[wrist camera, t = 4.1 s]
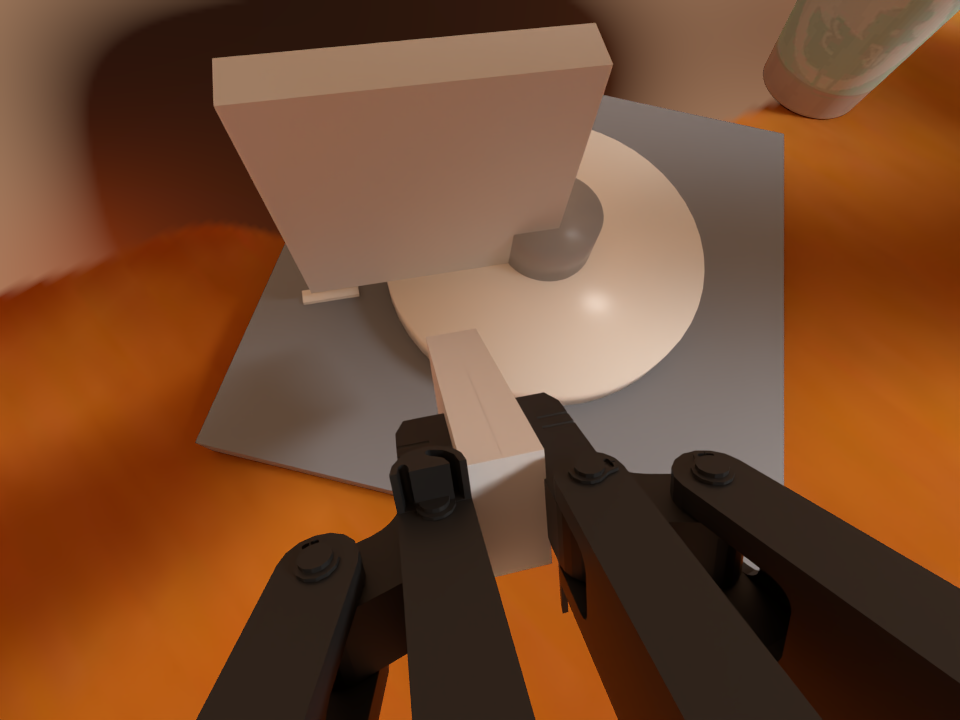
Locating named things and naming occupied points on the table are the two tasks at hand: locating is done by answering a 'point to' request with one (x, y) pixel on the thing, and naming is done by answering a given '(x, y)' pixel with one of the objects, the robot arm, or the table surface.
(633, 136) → the dial plate
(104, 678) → the table surface
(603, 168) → the dial
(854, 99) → the coffee cup
